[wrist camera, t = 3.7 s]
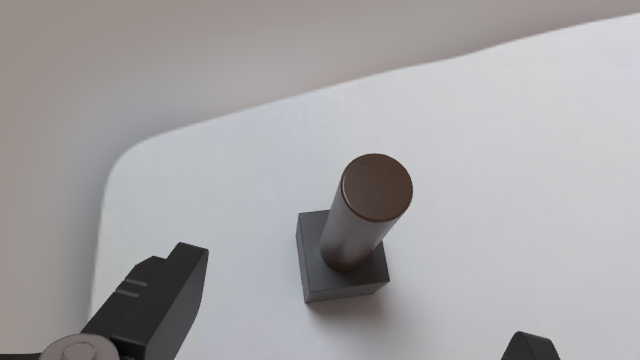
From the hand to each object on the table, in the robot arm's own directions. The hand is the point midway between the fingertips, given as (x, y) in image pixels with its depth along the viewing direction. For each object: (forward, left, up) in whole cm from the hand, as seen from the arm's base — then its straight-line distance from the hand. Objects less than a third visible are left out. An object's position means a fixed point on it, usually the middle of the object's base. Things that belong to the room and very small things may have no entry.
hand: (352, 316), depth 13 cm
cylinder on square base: (+1, +4, -13) cm, 13 cm away
